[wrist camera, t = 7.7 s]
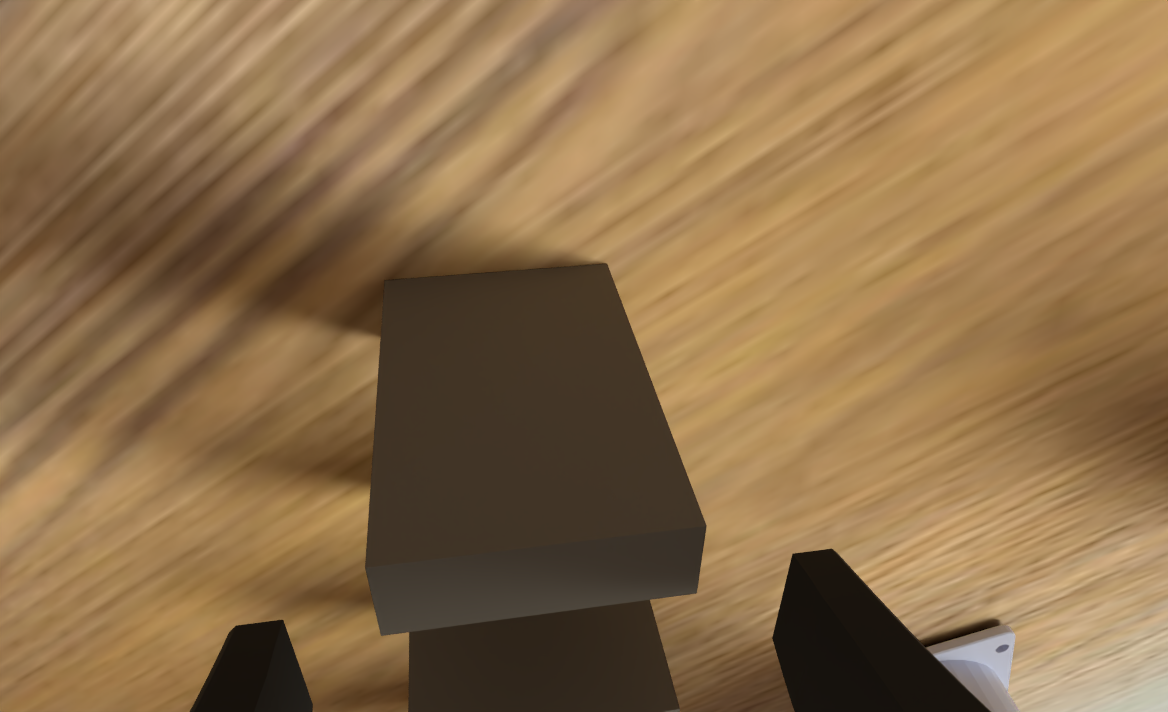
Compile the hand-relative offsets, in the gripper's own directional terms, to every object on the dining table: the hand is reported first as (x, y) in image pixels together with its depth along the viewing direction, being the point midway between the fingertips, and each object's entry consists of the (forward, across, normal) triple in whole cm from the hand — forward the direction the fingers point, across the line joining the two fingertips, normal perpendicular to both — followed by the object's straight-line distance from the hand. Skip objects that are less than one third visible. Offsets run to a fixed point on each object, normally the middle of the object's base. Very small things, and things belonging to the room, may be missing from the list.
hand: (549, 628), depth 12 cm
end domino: (+9, 0, 0) cm, 9 cm away
